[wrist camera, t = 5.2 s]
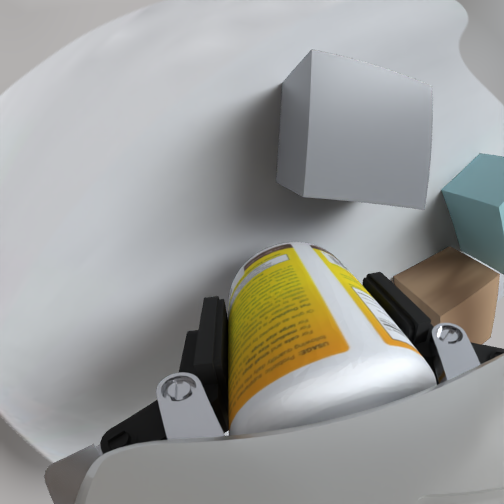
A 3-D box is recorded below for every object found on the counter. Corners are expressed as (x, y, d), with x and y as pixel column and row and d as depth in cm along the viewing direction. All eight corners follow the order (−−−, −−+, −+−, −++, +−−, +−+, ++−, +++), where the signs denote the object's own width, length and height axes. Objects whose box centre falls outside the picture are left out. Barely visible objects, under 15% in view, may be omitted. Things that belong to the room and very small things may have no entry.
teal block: (479, 153, 14) (533, 162, 9) (495, 211, 15) (542, 229, 11) (440, 189, 14) (498, 207, 10) (459, 249, 16) (508, 277, 11)
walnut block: (449, 245, 16) (499, 274, 11) (450, 303, 17) (490, 337, 13) (392, 275, 16) (440, 316, 11) (399, 333, 18) (435, 377, 13)
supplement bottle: (222, 338, 14) (219, 548, 4) (237, 228, 12) (257, 486, 2) (327, 345, 14) (400, 518, 5) (359, 246, 12) (524, 407, 3)
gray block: (373, 100, 12) (432, 86, 8) (367, 190, 14) (424, 210, 9) (282, 83, 12) (311, 49, 7) (275, 182, 13) (303, 196, 9)
